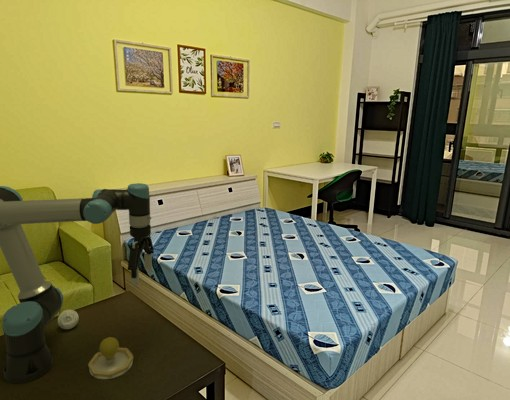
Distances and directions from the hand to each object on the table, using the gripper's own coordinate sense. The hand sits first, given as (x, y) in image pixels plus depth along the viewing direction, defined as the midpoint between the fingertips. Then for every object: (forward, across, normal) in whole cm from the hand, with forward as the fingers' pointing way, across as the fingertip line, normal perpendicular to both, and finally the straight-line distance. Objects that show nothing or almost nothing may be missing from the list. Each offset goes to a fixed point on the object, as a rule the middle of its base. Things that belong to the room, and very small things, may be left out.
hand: (142, 276), depth 138 cm
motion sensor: (+29, +5, +35) cm, 46 cm away
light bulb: (+28, -15, +8) cm, 33 cm away
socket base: (+29, -15, +7) cm, 33 cm away
